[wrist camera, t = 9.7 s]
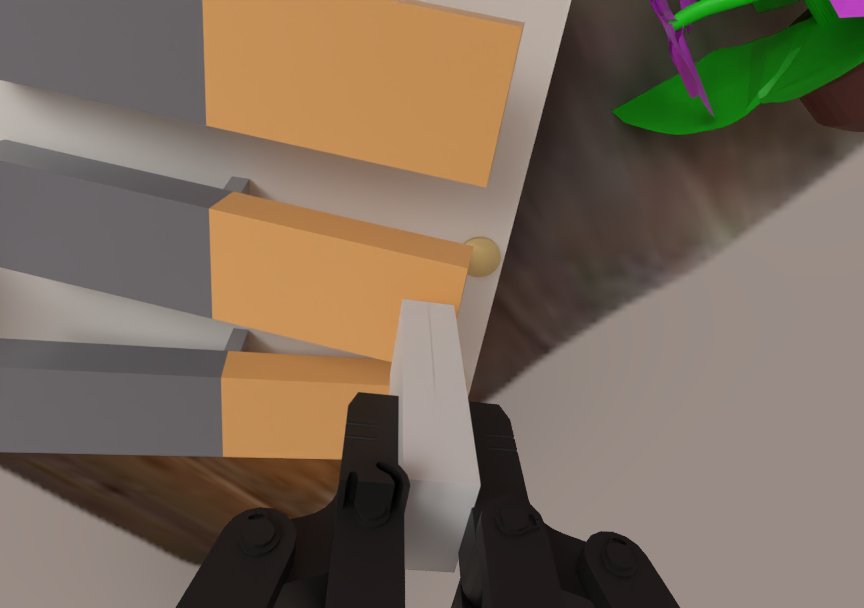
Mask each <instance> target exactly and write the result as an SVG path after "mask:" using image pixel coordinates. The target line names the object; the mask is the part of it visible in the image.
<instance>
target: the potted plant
mask: <svg viewBox="0 0 864 608" xmlns="http://www.w3.org/2000/svg"><path fill="white" fill-rule="evenodd" d="M655 1H656V3H657V4H656V3H655V2H654V0H650V3H651V5H652V7H653V9H654V11H655V12H656V13H657V14H658V18H659V20H660V22H661V23H662V24H663V26H664V28H665V31H666V33H667V37H668V42H669V49H670V54H671V59H672V62H673V64H674V66H675V63H676V66H677V68H678V71H679V74H677V75H676V76H674V77H672V78H670V79H668V80H667V81H665V82H663V83H661V84H659V85H658V86H656V87H654V88H652V89H651V90H649V91H647V92H645V93H644V94H642V95H640V96H638V97H636V98H634V99H632V100H630V101H629V102H627V103H625V104H623V105H621V106H620V107H618V108H616V109H614V110H612V112H613V113H614V114H615V115H616V116H617V117H619V118H620V119H621V120H622V121H623V122H624V123H627V124H630V125H634V126H637V127H641V128H644V129H648V130H651V131H656V132H661V133H666V134H675V135H684V134H692V133H698V132H703V131H708V130H713V129H718V128H722V127H725V126H727V125H730V124H733V123H734V122H736V121H738V120H739V119H741V118H742V117H744V116H746V115H747V114H748V113H749V112H750V111H752V110H753V109H754V108H755V107H756V106H758V105H759V104H760V103H763V104H764V103H773V102H780V103H782V102H786V101H789V100H792V99H796V98H800V100H801V101H802V103H803V104H804V105H805V107H806V108H807V110H808V111H809V112H810V114H811V115H812V116H813V118H814V119H815V120H816V121H817V122H818V123H819V124H821V125H824V126H828V127H833V128H838V129H843V130H848V131H854V132H864V0H804V2H805V3H806V5H807V7H808V10H807V11H805V12H804V13H803V14H802V15H801V16H800V17H799V18H797V19H796V20H795V21H794V22H793V23H792V24H791V25H790V26H789V27H788V28H786V29H784V30H782V31H780V32H778V33H776V34H774V35H771V36H767V37H763V38H760V39H758V40H755V41H752V42H749V43H746V44H743V45H740V46H733V47H726V48H721V49H717V50H715V51H713V52H711V53H709V54H708V55H706V56H705V57H704V58H702V59H701V60H700V61H699V62H697V63H696V64H694V61H693V58H692V56H691V53H690V50H689V48H688V45H687V42H686V40H685V37H684V32H683V29H684V27H686V29H687V32H688V34H689V33H690V31H691V29H692V24H693V22H695V21H697V20H699V19H702V18H704V17H707V16H709V15H712V14H715V13H718V12H722V11H725V10H729V9H733V8H736V7H740V6H744V5H747V4H750V3H753V2H754V8H755V10H756V11H757V12H766V11H770V10H773V9H776V8H780V7H783V6H786V5H790V4H793V3H796V2H798V1H800V0H701V1H698V2H696V1H697V0H680V6H681V11H679V12H678V13H676V14H675V15H673V14H672V12H671V10H670V8H669V5H668V3H667V0H655ZM657 5H658V6H657ZM661 12H662V13H663V14H664V16H663V15H662V13H661ZM677 30H678V31H677ZM676 31H677V32H676Z"/></svg>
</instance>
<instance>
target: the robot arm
mask: <svg viewBox="0 0 864 608" xmlns="http://www.w3.org/2000/svg"><path fill="white" fill-rule="evenodd" d="M513 438H514V435H513V430H512V426H511V422H510V419H509V418H508V416H507V415H506V414H505V412H504V411H503V410H502V408H501V407H500V406H499V405H497V404H487V403H477V402H468V396H467V389H466V382H465V375H464V368H463V362H462V355H461V348H460V341H459V335H458V328H457V321H456V314H455V308H454V305H449V304H441V303H432V302H424V301H416V300H408V299H402V304H401V310H400V316H399V322H398V328H397V334H396V341H395V347H394V353H393V359H392V365H391V371H390V390H389V395H384V394H374V393H364V392H358V393H357V394H356V396H355V397H354V398H353V400H352V401H351V402H350V404H349V405H348V411H347V419H346V427H345V435H344V443H343V451H342V460H341V469H340V477H339V486H338V491H337V494H336V495H335V497H334V499H333V500H332V501H331V502H330V503H329V504H328V505H327V506H326V507H325V508H323V509H322V510H320V511H318V512H316V513H313V514H310V515H307V516H303V517H299V518H294V519H289V517H288V516H287V515H286V514H284V513H282V512H280V511H278V510H276V509H271V508H262V507H260V508H255V509H250V510H246V511H244V512H242V513H241V514H239V515H237V516H235V517H234V518H233V519H232V520H231V521H230V522H229V523H228V524H227V525H226V526H225V528H224V529H223V531H222V532H221V534H220V536H219V537H218V539H217V541H216V542H215V544H214V546H213V547H212V549H211V550H210V552H209V554H208V555H207V557H206V559H205V560H204V562H203V564H202V565H201V567H200V568H199V570H198V572H197V573H196V575H195V577H194V578H193V580H192V582H191V583H190V585H189V587H188V588H187V590H186V591H185V593H184V595H183V596H182V598H181V600H180V602H179V603H178V605H177V606H176V608H405V569H408V570H425V571H441V572H454V571H455V568H456V565H457V562H458V558H459V566H460V577H461V578H460V581H459V584H458V588H457V591H456V594H455V597H454V600H453V603H452V606H451V608H680V607H679V605H678V604H677V602H676V601H675V599H674V598H673V596H672V594H671V593H670V591H669V590H668V588H667V587H666V585H665V583H664V582H663V580H662V579H661V577H660V576H659V574H658V573H657V571H656V570H655V568H654V566H653V565H652V563H651V562H650V560H649V559H648V557H647V556H646V554H645V553H644V552H643V551H642V550H641V549H640V547H639V546H638V545H637V544H635V543H634V542H633V541H631V540H629V539H628V538H627V537H625V536H622V535H620V534H617V533H614V532H602V531H601V532H598V533H596V534H593V535H591V536H590V538H589V539H588V540H587V542H585V541H582V540H580V539H577V538H574V537H571V536H568V535H565V534H563V533H561V532H559V531H557V530H554V529H552V528H551V527H550V526H548V525H547V524H545V523H544V522H543V519H542V517H541V515H540V514H539V513H538V512H537V511H536V510H535V508H533V506H532V505H530V502H529V500H528V496H527V491H526V487H525V483H524V478H523V474H522V469H521V465H520V461H519V456H518V453H517V448H516V443H515V439H513Z"/></svg>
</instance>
